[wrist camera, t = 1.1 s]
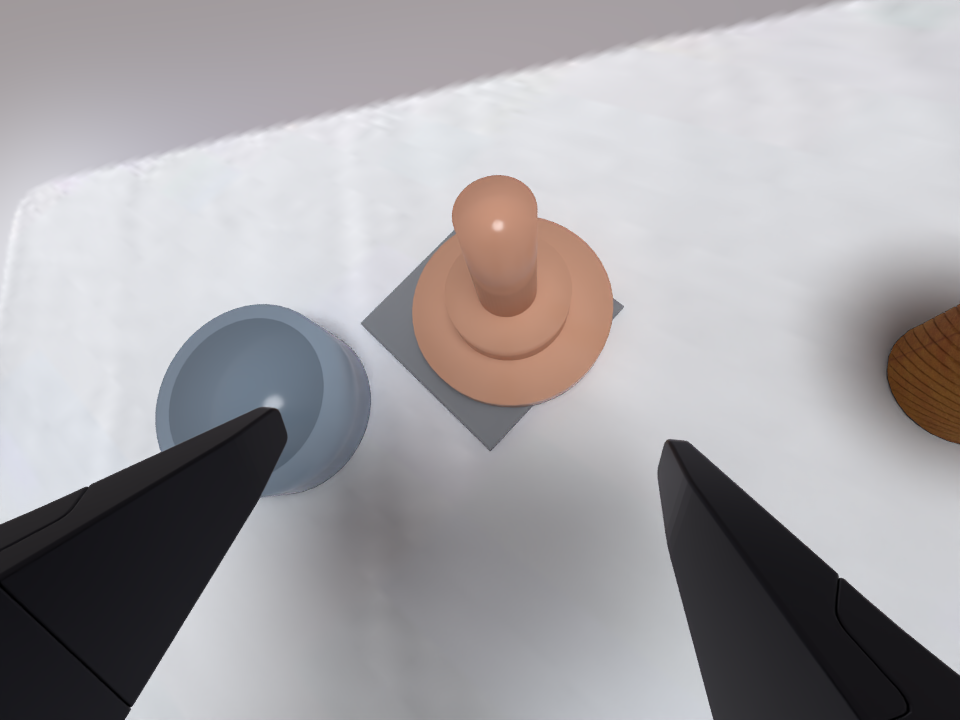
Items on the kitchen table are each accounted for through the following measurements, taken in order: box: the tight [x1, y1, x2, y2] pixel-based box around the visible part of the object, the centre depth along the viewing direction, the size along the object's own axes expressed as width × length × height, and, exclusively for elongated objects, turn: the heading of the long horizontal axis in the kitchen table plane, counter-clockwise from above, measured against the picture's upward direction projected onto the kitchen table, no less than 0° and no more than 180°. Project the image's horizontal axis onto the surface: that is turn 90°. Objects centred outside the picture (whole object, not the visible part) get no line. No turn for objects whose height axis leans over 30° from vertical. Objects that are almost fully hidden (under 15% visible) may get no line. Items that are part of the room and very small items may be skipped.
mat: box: [361, 230, 624, 451], centre depth 24 cm, size 11×11×1 cm
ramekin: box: [156, 304, 370, 498], centre depth 23 cm, size 10×10×4 cm
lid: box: [412, 175, 613, 408], centre depth 19 cm, size 11×11×10 cm
